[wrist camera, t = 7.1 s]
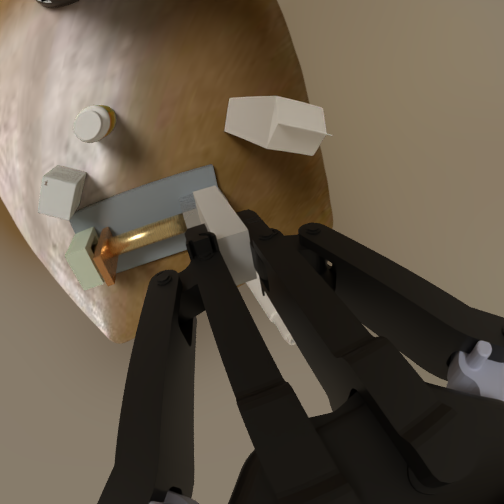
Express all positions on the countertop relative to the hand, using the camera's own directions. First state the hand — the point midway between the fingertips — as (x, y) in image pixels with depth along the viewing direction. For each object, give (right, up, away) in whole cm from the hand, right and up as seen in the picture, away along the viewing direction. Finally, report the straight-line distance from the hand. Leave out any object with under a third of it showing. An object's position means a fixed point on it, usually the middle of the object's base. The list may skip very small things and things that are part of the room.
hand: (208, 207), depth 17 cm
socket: (-26, -2, +26) cm, 36 cm away
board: (-16, +2, +29) cm, 33 cm away
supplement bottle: (-21, +18, +17) cm, 33 cm away
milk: (+1, +20, +25) cm, 32 cm away
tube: (-16, +1, +27) cm, 32 cm away
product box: (-28, +9, +20) cm, 36 cm away
